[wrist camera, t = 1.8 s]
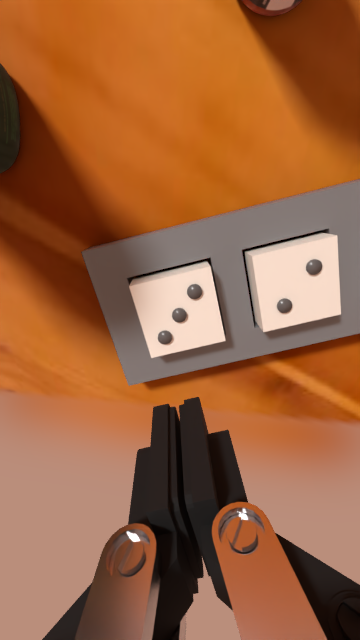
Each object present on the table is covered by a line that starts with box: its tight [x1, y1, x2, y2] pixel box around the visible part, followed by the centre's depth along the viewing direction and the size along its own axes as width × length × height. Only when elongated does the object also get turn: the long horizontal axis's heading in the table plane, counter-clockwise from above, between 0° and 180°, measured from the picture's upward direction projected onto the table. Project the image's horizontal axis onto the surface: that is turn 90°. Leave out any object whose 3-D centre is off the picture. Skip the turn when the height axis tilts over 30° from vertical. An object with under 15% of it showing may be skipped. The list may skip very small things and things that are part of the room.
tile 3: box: [129, 261, 226, 358], centre depth 24 cm, size 6×6×3 cm
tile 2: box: [244, 233, 341, 332], centre depth 23 cm, size 6×6×3 cm
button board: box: [81, 179, 360, 385], centre depth 25 cm, size 30×12×2 cm, turn 104°
